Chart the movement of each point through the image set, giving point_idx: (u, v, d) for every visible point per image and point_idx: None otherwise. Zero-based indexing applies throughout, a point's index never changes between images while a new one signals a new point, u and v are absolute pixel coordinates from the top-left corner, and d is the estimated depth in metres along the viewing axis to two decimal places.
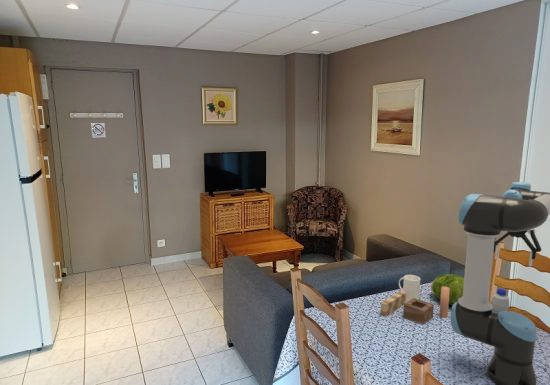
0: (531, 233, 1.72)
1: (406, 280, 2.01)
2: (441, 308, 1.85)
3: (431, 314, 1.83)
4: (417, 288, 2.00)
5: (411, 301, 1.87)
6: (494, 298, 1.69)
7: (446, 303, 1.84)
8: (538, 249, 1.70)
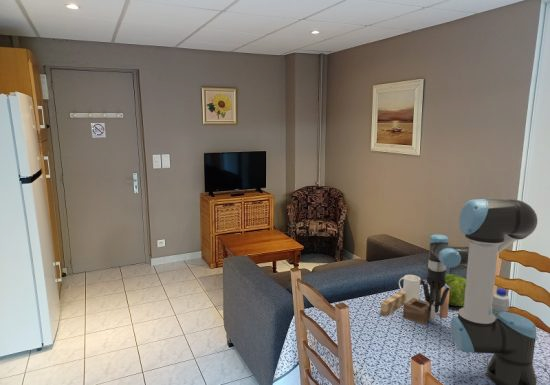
0: (445, 290, 1.73)
1: (406, 280, 2.01)
2: (441, 308, 1.85)
3: (430, 314, 1.83)
4: (417, 288, 2.00)
5: (411, 301, 1.87)
6: (494, 298, 1.69)
7: (446, 303, 1.84)
8: (440, 304, 1.76)
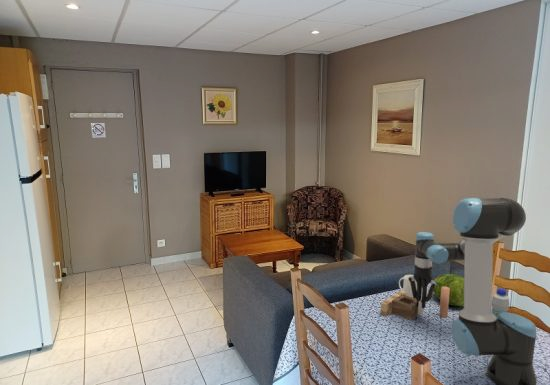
0: (431, 286, 1.78)
1: (406, 280, 2.01)
2: (441, 308, 1.85)
3: None
4: None
5: (399, 297, 1.91)
6: (494, 298, 1.69)
7: (446, 303, 1.84)
8: (427, 299, 1.80)
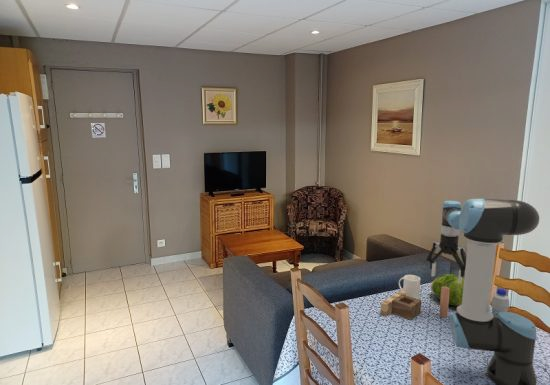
0: (461, 251, 1.77)
1: (406, 280, 2.01)
2: (441, 308, 1.85)
3: (418, 309, 1.88)
4: (417, 288, 2.00)
5: (399, 297, 1.91)
6: (494, 298, 1.69)
7: (446, 303, 1.84)
8: (466, 267, 1.76)
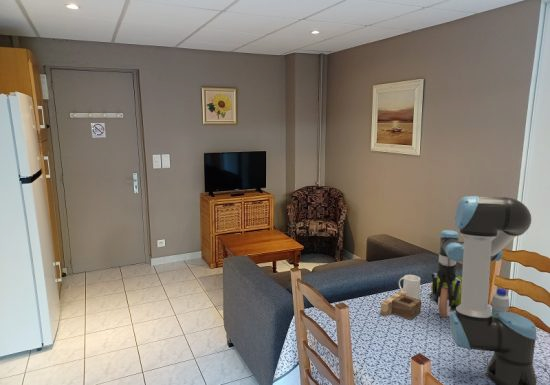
0: (457, 283, 1.79)
1: (406, 280, 2.01)
2: (441, 308, 1.85)
3: (418, 309, 1.88)
4: (417, 288, 2.00)
5: (399, 297, 1.91)
6: (494, 298, 1.69)
7: (446, 303, 1.84)
8: (454, 298, 1.81)
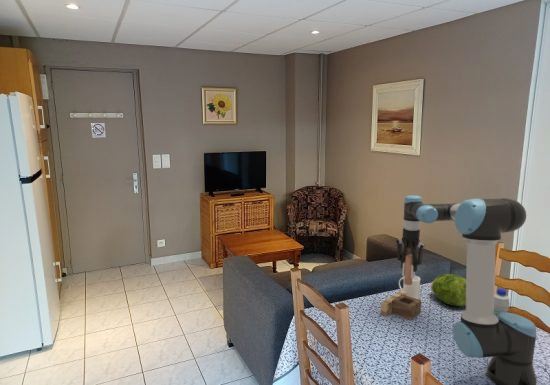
0: (420, 247, 1.79)
1: None
2: (405, 275, 1.86)
3: (418, 309, 1.88)
4: (417, 288, 2.00)
5: (399, 297, 1.91)
6: (494, 298, 1.69)
7: (410, 270, 1.84)
8: (418, 262, 1.81)
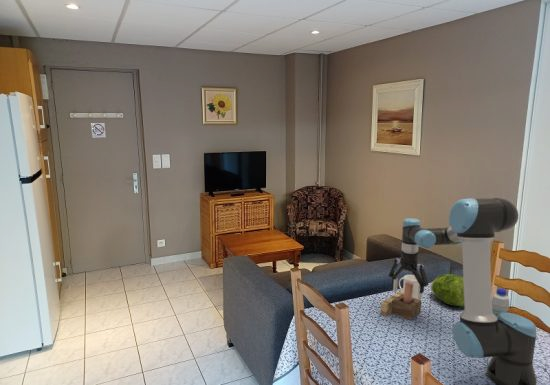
0: (420, 268, 1.80)
1: (406, 280, 2.01)
2: None
3: (418, 309, 1.88)
4: (417, 288, 2.00)
5: (399, 297, 1.91)
6: (494, 298, 1.69)
7: (409, 299, 1.86)
8: (424, 284, 1.80)
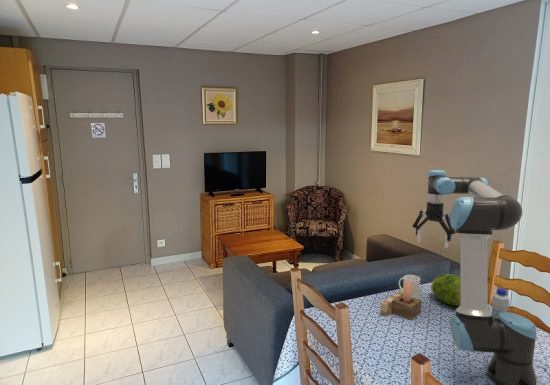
0: (446, 217, 1.86)
1: (406, 280, 2.01)
2: None
3: (418, 309, 1.88)
4: (417, 288, 2.00)
5: (399, 297, 1.91)
6: (494, 298, 1.69)
7: (408, 298, 1.86)
8: (452, 232, 1.84)
